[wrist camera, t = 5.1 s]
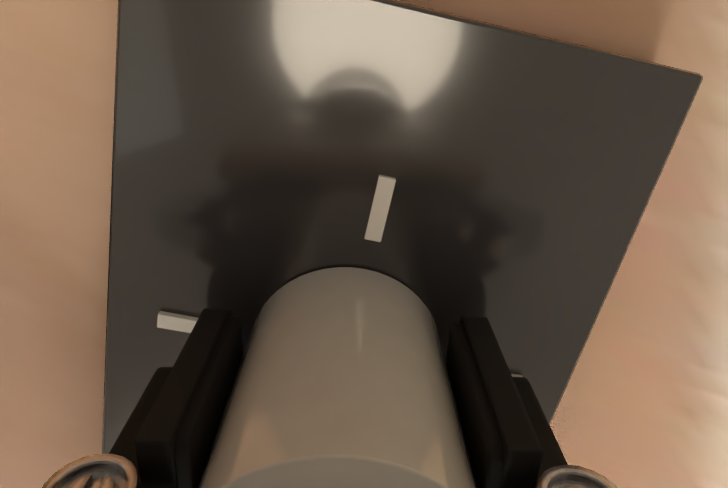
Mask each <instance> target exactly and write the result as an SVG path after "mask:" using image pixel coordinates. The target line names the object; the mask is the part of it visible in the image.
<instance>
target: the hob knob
mask: <svg viewBox="0 0 728 488" xmlns="http://www.w3.org/2000/svg"><path fill="white" fill-rule="evenodd" d="M198 488H476V483H475V479H474V475H473V471H472V467H471V463H470V459H469V455H468V451H467V447H466V443H465V439H464V435H463V431H462V427H461V423H460V419H459V415H458V411H457V407H456V403H455V399H454V395H453V391H452V387H451V383H450V379H449V374H448V370H447V366H446V362H445V358H444V354H443V350H442V346H441V342H440V338H439V334H438V330H437V326H436V324H435V321H434V319H433V317H432V315H431V313H430V312H429V310H428V308H427V307H426V305H425V304H424V303H423V302H422V300H421V299H420V298H419V297H418V296H417V295H416V294H415V293H414V292H413V291H412V290H410V289H409V288H408V287H406V286H405V285H403V284H402V283H400V282H399V281H397V280H395V279H393V278H391V277H389V276H386V275H384V274H381V273H379V272H375V271H371V270H367V269H362V268H354V267H335V268H326V269H322V270H317V271H313V272H310V273H308V274H305V275H302V276H300V277H298V278H296V279H294V280H292V281H290V282H288V283H287V284H286V285H284V286H283V287H281V288H280V289H279V290H278V291H276V292H275V293H274V294H273V295H272V296H271V297H270V298H269V299H268V301H267V302H266V303H265V304H264V306H263V307H262V309H261V310H260V312H259V314H258V315H257V318H256V320H255V323H254V325H253V328H252V331H251V334H250V337H249V340H248V343H247V346H246V349H245V352H244V355H243V358H242V361H241V363H240V366H239V369H238V372H237V375H236V378H235V381H234V384H233V387H232V390H231V393H230V396H229V399H228V402H227V405H226V408H225V411H224V414H223V417H222V419H221V422H220V425H219V428H218V431H217V434H216V437H215V440H214V443H213V446H212V449H211V452H210V455H209V458H208V461H207V464H206V467H205V470H204V473H203V476H202V478H201V481H200V484H199V487H198Z"/></svg>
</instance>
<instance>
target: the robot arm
mask: <svg viewBox="0 0 728 488" xmlns="http://www.w3.org/2000/svg"><path fill="white" fill-rule="evenodd" d="M242 358H243V348H242V331H241V319H240V316H232V311H231V310H230V309H211V308H205V309H203V311H202V313H201V315H200V316H199V318H198V320H197V322H196V324H195V326H194V328H193V330H192V332H191V333H190V335H189V337H188V339H187V341H186V343H185V345H184V347H183V349H182V351H181V352H180V354H179V356H178V358H177V360H176V362H175V364H174V366H173V367H160V368H158V369H157V370H156V372H155V373H154V375H153V377H152V378H151V380H150V382H149V384H148V385H147V387H146V389H145V391H144V392H143V394H142V396H141V398H140V400H139V401H138V403H137V405H136V407H135V408H134V410H133V412H132V414H131V415H130V417H129V419H128V421H127V422H126V424H125V426H124V428H123V429H122V431H121V433H120V435H119V436H118V438H117V440H116V442H115V443H114V445H113V447H112V449H111V450H110V452H109V454H96V455H92V456H88V457H83V458H81V459H78V460H76V461H74V462H72V463H69V464H67V465H66V466H64V467H63V468H62V469H60V470H59V471H57V472H56V473H54V474H53V475H52V476H51V477H50V478H49V479H48V481H47V482H46V483H45V484H44V485H43V487H42V488H198V487H199V484H200V481H201V478H202V476H203V473H204V470H205V467H206V464H207V461H208V458H209V455H210V452H211V449H212V446H213V443H214V440H215V437H216V434H217V431H218V428H219V425H220V422H221V419H222V417H223V414H224V411H225V408H226V405H227V402H228V399H229V396H230V393H231V390H232V387H233V384H234V381H235V378H236V375H237V372H238V369H239V366H240V363H241V361H242ZM446 366H447V370H448V374H449V379H450V383H451V387H452V391H453V395H454V399H455V403H456V407H457V411H458V415H459V419H460V423H461V427H462V431H463V435H464V439H465V443H466V447H467V451H468V455H469V459H470V463H471V467H472V471H473V475H474V479H475V483H476V488H618V487H617V486H616V485H614V484H613V483H612V482H610V481H609V480H608V479H607V478H605V477H604V476H602V475H600V474H598V473H596V472H594V471H592V470H590V469H586V468H583V467H580V466H573V465H568V464H567V462H566V460H565V458H564V456H563V454H562V451H561V449H560V447H559V445H558V443H557V441H556V438H555V436H554V434H553V432H552V430H551V428H550V425H549V423H548V421H547V419H546V417H545V415H544V412H543V410H542V408H541V406H540V404H539V402H538V399H537V397H536V395H535V393H534V391H533V389H532V386H531V384H530V382H529V381H528V379H527V378H525V377H512V375H511V373H510V370H509V368H508V366H507V363H506V361H505V358H504V356H503V354H502V351H501V349H500V346H499V344H498V342H497V339H496V337H495V335H494V332H493V330H492V327H491V325H490V323H489V320H488V318H487V317H472V316H461V317H460V320H459V323H456V322H452V323H451V326H450V332H449V341H448V349H447V358H446Z"/></svg>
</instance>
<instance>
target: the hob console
mask: <svg viewBox="0 0 728 488" xmlns="http://www.w3.org/2000/svg"><path fill="white" fill-rule="evenodd" d="M702 80H703V76H702V75H700V74H699V73H695V72H690V71H686V70H682V69H678V68H674V67H670V66H665V65H661V64H657V63H653V62H649V61H644V60H640V59H636V58H632V57H628V56H623V55H619V54H615V53H611V52H607V51H603V50H598V49H594V48H590V47H586V46H582V45H577V44H573V43H569V42H565V41H561V40H557V39H552V38H548V37H544V36H540V35H536V34H531V33H527V32H523V31H519V30H515V29H510V28H506V27H502V26H498V25H494V24H490V23H485V22H481V21H477V20H473V19H469V18H464V17H460V16H456V15H452V14H448V13H443V12H439V11H435V10H431V9H427V8H423V7H418V6H414V5H410V4H406V3H402V2H397V1H393V0H118V21H117V48H116V76H115V104H114V132H113V159H112V187H111V215H110V243H109V270H108V298H107V326H106V354H105V381H104V409H103V437H102V454H109V452H110V450H111V449H112V447H113V445H114V443H115V442H116V440H117V438H118V436H119V435H120V433H121V431H122V429H123V428H124V426H125V424H126V422H127V421H128V419H129V417H130V415H131V414H132V412H133V410H134V408H135V407H136V405H137V403H138V401H139V400H140V398H141V396H142V394H143V392H144V391H145V389H146V387H147V385H148V384H149V382H150V380H151V378H152V377H153V375H154V373H155V372H156V370H157V369H158V368H160V367H173V366H174V364H175V362H176V360H177V358H178V356H179V354H180V352H181V351H182V349H183V347H184V345H185V343H186V341H187V339H188V337H189V335H190V333H191V332H192V330H193V328H194V326H195V324H196V322H197V320H198V318H199V316H200V315H201V313H202V311H203V309H205V308H211V309H230V310H231V311H232V316H240V319H241V331H242V348H243V355H244V352H245V349H246V346H247V343H248V340H249V337H250V334H251V331H252V328H253V325H254V323H255V320H256V318H257V315H258V314H259V312H260V310H261V309H262V307H263V306H264V304H265V303H266V302H267V301H268V299H269V298H270V297H271V296H272V295H273V294H274V293H275V292H276V291H278V290H279V289H280V288H281V287H283V286H284V285H286V284H287V283H288V282H290V281H292V280H294V279H296V278H298V277H300V276H302V275H305V274H308V273H310V272H313V271H317V270H322V269H326V268H335V267H354V268H362V269H367V270H371V271H375V272H379V273H381V274H384V275H386V276H389V277H391V278H393V279H395V280H397V281H399V282H400V283H402V284H403V285H405V286H406V287H408V288H409V289H410V290H412V291H413V292H414V293H415V294H416V295H417V296H418V297H419V298H420V299H421V300H422V302H423V303H424V304H425V305H426V307H427V308H428V310H429V312H430V313H431V315H432V317H433V319H434V321H435V324H436V326H437V330H438V334H439V338H440V342H441V346H442V350H443V354H444V358H445V362H446V358H447V349H448V341H449V332H450V326H451V323H452V322H456V323H459V320H460V317H461V316H472V317H487V318H488V320H489V323H490V325H491V327H492V330H493V332H494V335H495V337H496V339H497V342H498V344H499V346H500V349H501V351H502V354H503V356H504V358H505V361H506V363H507V366H508V368H509V370H510V373H511V375H512V377H525V378H527V379H528V381H529V382H530V384H531V386H532V389H533V391H534V393H535V395H536V397H537V399H538V402H539V404H540V406H541V408H542V410H543V412H544V415H545V417H546V419H547V421H548V423H549V425H550V423H551V420H552V418H553V416H554V414H555V411H556V409H557V407H558V405H559V402H560V400H561V398H562V396H563V393H564V391H565V389H566V387H567V384H568V382H569V380H570V378H571V375H572V373H573V371H574V369H575V366H576V364H577V362H578V360H579V357H580V355H581V353H582V351H583V348H584V346H585V344H586V341H587V339H588V337H589V335H590V332H591V330H592V328H593V326H594V323H595V321H596V319H597V317H598V314H599V312H600V310H601V308H602V305H603V303H604V301H605V299H606V296H607V294H608V292H609V290H610V287H611V285H612V283H613V281H614V278H615V276H616V274H617V272H618V269H619V267H620V265H621V263H622V260H623V258H624V256H625V253H626V251H627V249H628V247H629V244H630V242H631V240H632V238H633V235H634V233H635V231H636V229H637V226H638V224H639V222H640V220H641V217H642V215H643V213H644V211H645V208H646V206H647V204H648V202H649V199H650V197H651V195H652V193H653V190H654V188H655V186H656V184H657V181H658V179H659V177H660V175H661V172H662V170H663V168H664V165H665V163H666V161H667V159H668V156H669V154H670V152H671V150H672V147H673V145H674V143H675V141H676V138H677V136H678V134H679V132H680V129H681V127H682V125H683V123H684V120H685V118H686V116H687V114H688V111H689V109H690V107H691V105H692V102H693V100H694V98H695V96H696V93H697V91H698V89H699V86H700V84H701V82H702Z"/></svg>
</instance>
